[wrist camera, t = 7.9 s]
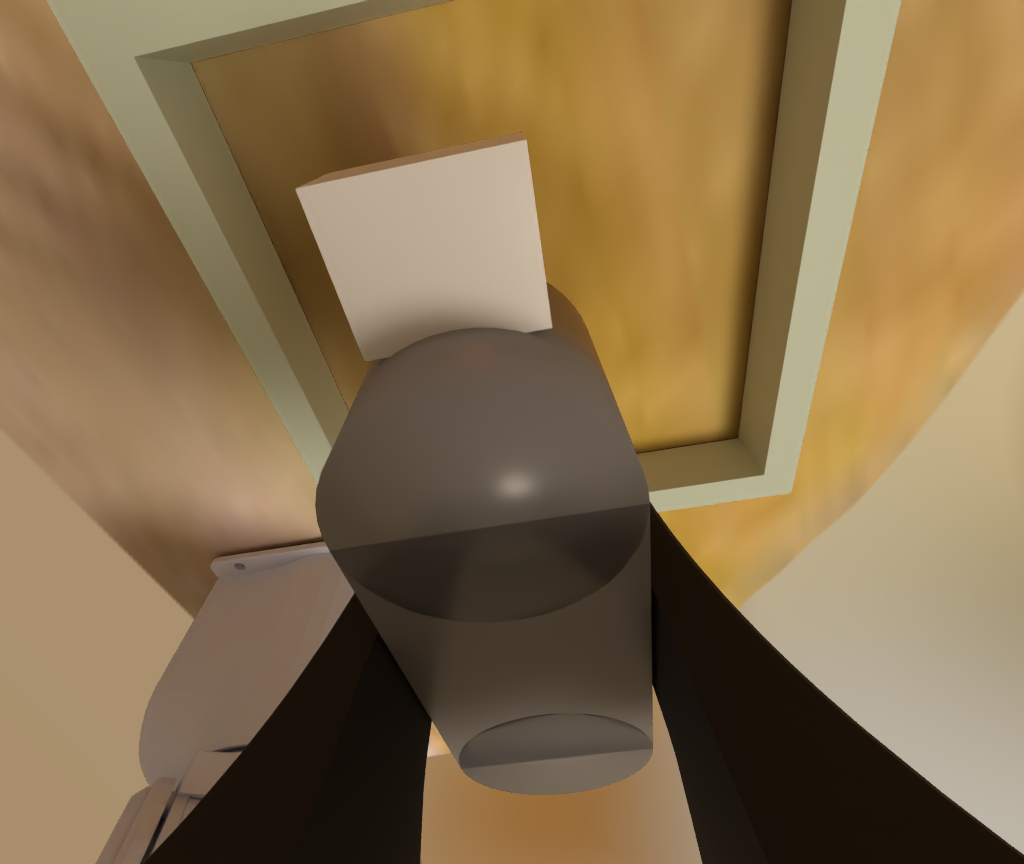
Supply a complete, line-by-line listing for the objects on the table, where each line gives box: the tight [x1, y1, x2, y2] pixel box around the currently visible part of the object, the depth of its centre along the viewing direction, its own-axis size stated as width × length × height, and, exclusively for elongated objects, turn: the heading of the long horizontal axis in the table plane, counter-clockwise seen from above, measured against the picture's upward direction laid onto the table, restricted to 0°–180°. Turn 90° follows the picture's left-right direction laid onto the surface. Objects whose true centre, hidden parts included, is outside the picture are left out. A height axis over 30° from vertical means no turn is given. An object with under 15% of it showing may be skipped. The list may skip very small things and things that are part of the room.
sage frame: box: [46, 0, 901, 512], centre depth 15 cm, size 18×18×2 cm
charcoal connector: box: [295, 132, 653, 795], centre depth 9 cm, size 4×13×4 cm, turn 10°
